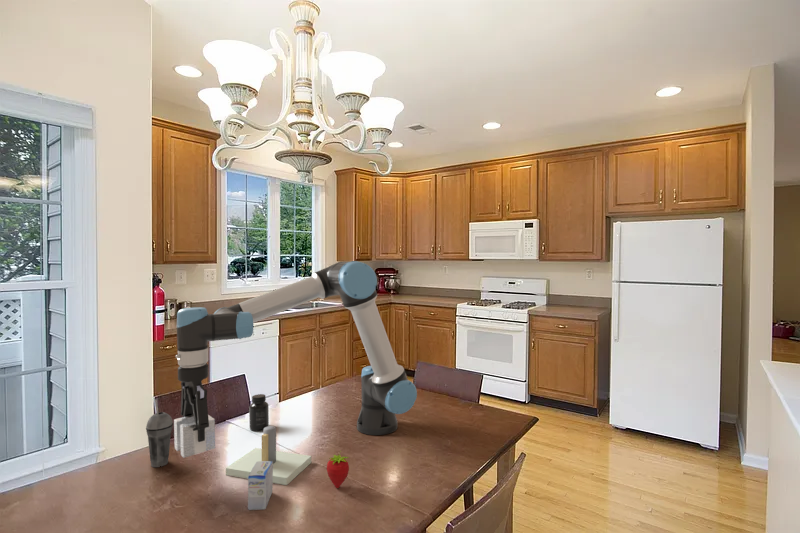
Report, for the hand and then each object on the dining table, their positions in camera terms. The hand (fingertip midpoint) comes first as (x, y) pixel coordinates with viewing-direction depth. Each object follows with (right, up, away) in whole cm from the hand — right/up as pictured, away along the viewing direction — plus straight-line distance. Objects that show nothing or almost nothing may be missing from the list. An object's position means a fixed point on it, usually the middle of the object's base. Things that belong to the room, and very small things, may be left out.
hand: (194, 447), depth 115 cm
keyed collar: (0, 0, 0) cm, 0 cm away
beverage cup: (-17, -11, +13) cm, 24 cm away
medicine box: (+20, -11, -7) cm, 24 cm away
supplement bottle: (+4, -11, +41) cm, 43 cm away
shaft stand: (+17, -11, +10) cm, 23 cm away
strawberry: (+39, -11, 0) cm, 41 cm away
